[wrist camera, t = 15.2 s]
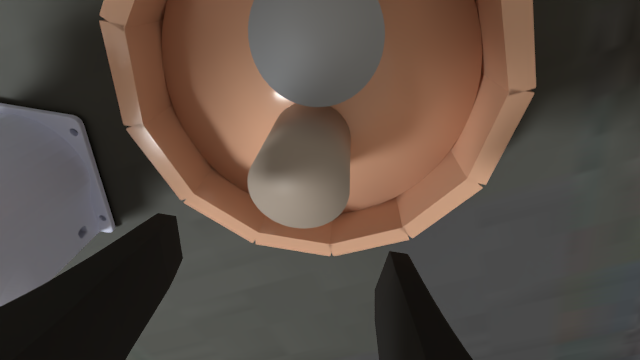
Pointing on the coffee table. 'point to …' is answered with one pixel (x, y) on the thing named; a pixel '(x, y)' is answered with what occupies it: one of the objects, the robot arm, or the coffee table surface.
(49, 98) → the coffee table surface
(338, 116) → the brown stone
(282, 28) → the slate stone
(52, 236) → the robot arm
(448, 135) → the bowl
